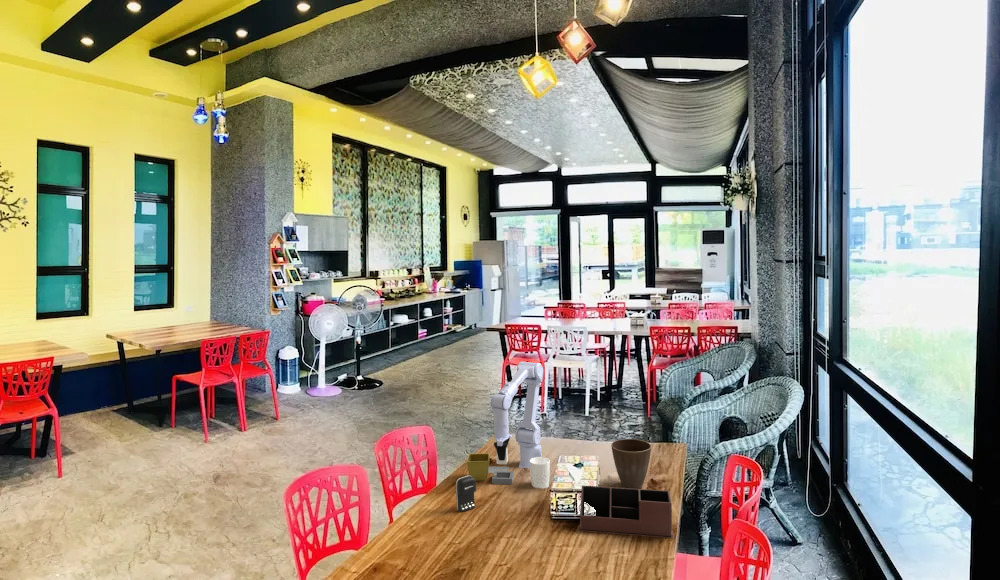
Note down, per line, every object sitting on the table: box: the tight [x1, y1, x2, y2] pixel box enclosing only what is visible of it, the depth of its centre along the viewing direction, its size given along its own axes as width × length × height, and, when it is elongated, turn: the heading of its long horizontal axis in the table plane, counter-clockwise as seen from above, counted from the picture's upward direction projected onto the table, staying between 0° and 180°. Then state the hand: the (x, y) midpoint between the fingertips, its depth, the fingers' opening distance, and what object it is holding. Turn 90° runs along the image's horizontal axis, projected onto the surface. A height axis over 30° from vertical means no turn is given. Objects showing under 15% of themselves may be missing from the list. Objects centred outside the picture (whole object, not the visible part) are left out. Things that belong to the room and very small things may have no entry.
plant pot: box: [610, 438, 652, 489], centre depth 214 cm, size 15×15×16 cm
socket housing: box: [491, 470, 515, 485], centre depth 223 cm, size 8×8×3 cm
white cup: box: [529, 456, 551, 489], centre depth 217 cm, size 8×8×10 cm
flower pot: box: [466, 452, 491, 482], centre depth 226 cm, size 9×9×9 cm
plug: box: [495, 447, 509, 465], centre depth 223 cm, size 4×4×6 cm
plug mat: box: [488, 465, 510, 474], centre depth 235 cm, size 9×8×1 cm
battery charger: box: [455, 474, 477, 513], centre depth 198 cm, size 7×4×11 cm, turn 126°
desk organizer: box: [578, 485, 674, 539], centre depth 182 cm, size 10×29×11 cm, turn 77°
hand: (502, 458), depth 223 cm, fingers closed on plug, 4 cm apart
